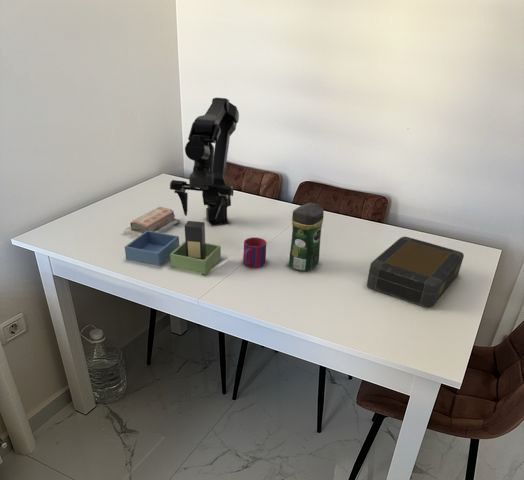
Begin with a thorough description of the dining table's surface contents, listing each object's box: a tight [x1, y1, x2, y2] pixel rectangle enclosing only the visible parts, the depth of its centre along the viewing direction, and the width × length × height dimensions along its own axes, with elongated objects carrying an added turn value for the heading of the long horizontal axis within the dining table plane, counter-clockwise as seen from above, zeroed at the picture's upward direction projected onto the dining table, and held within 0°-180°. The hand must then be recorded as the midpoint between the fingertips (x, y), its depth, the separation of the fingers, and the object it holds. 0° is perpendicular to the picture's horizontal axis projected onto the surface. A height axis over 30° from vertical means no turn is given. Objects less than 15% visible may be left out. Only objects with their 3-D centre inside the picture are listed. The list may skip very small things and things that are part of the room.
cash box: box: [366, 236, 465, 308], centre depth 143 cm, size 25×20×8 cm
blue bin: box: [124, 230, 180, 267], centre depth 152 cm, size 13×11×5 cm
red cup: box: [242, 236, 267, 269], centre depth 148 cm, size 7×10×7 cm
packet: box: [184, 220, 206, 260], centre depth 145 cm, size 4×5×12 cm
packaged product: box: [123, 206, 181, 238], centre depth 167 cm, size 18×5×10 cm
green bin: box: [169, 241, 222, 276], centre depth 148 cm, size 11×11×5 cm
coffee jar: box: [288, 202, 325, 272], centre depth 146 cm, size 10×8×19 cm
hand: (200, 217), depth 154 cm, fingers open, 9 cm apart
